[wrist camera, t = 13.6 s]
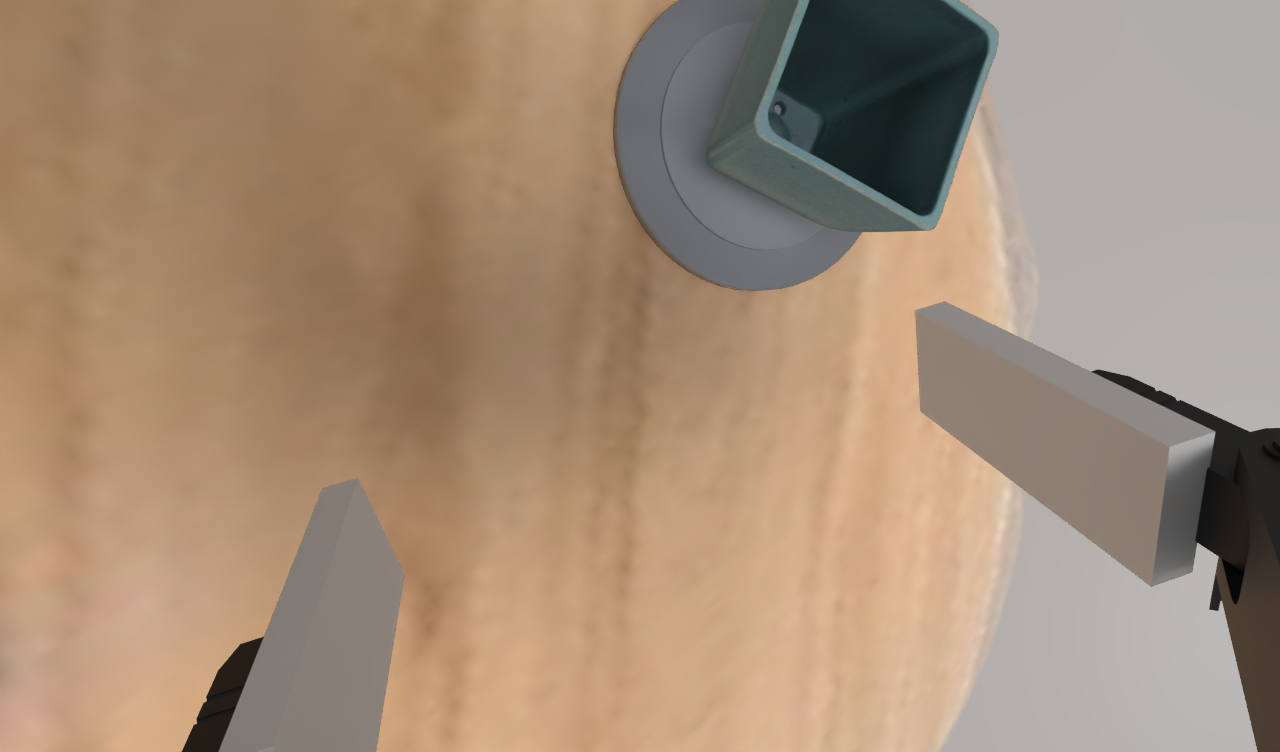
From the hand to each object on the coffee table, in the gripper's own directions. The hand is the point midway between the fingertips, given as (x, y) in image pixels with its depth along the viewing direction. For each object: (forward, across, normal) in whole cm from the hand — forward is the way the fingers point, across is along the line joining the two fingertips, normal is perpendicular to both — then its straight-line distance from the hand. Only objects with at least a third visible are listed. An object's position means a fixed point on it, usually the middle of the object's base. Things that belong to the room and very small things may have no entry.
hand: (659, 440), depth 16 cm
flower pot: (+21, +11, +2) cm, 23 cm away
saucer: (+22, +11, +2) cm, 24 cm away
